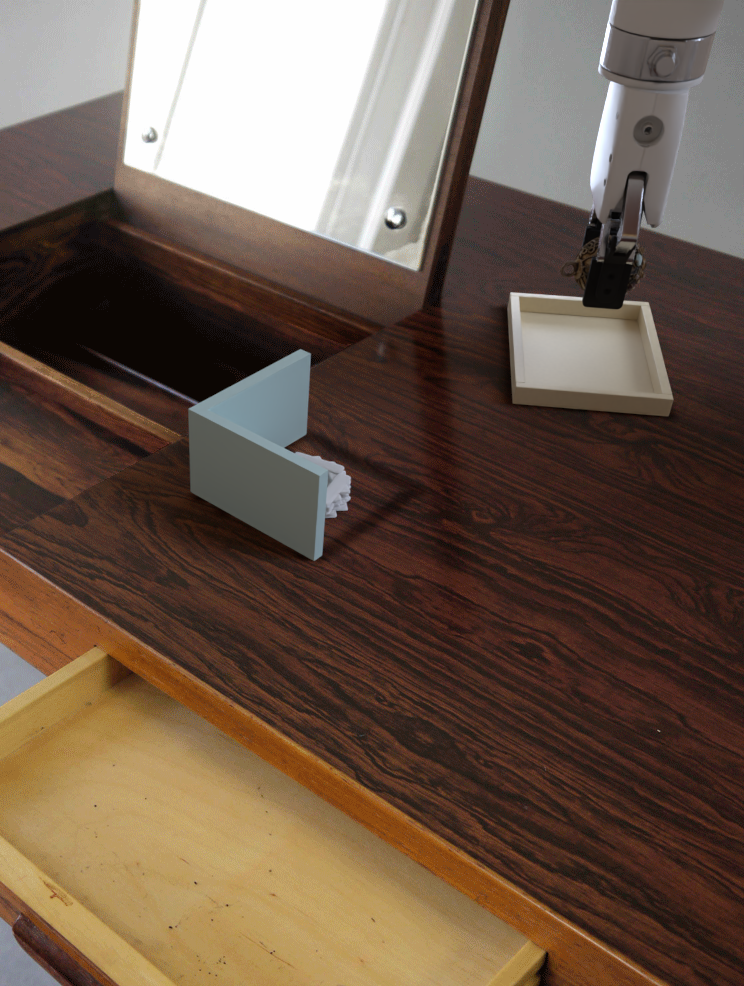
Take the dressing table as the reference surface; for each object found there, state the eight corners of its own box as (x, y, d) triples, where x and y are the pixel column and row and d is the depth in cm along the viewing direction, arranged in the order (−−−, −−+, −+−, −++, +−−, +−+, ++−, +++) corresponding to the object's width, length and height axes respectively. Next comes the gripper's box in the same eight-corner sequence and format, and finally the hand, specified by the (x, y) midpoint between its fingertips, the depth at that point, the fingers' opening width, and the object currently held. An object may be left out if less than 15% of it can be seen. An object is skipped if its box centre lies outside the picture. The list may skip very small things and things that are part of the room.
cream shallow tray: (506, 312, 107) (510, 291, 105) (643, 323, 106) (648, 301, 104) (511, 409, 94) (515, 386, 93) (667, 422, 93) (673, 399, 92)
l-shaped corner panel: (313, 567, 79) (319, 475, 73) (190, 497, 84) (188, 408, 79) (417, 494, 85) (429, 406, 80) (296, 435, 91) (300, 349, 86)
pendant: (652, 304, 94) (669, 245, 91) (568, 313, 93) (582, 254, 89) (623, 278, 98) (638, 220, 94) (541, 286, 96) (554, 228, 93)
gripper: (727, 93, 76) (656, 342, 89) (691, 24, 89) (633, 251, 101) (613, 86, 77) (558, 334, 89) (593, 19, 89) (547, 244, 102)
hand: (598, 288), depth 95 cm, fingers closed on pendant, 5 cm apart
